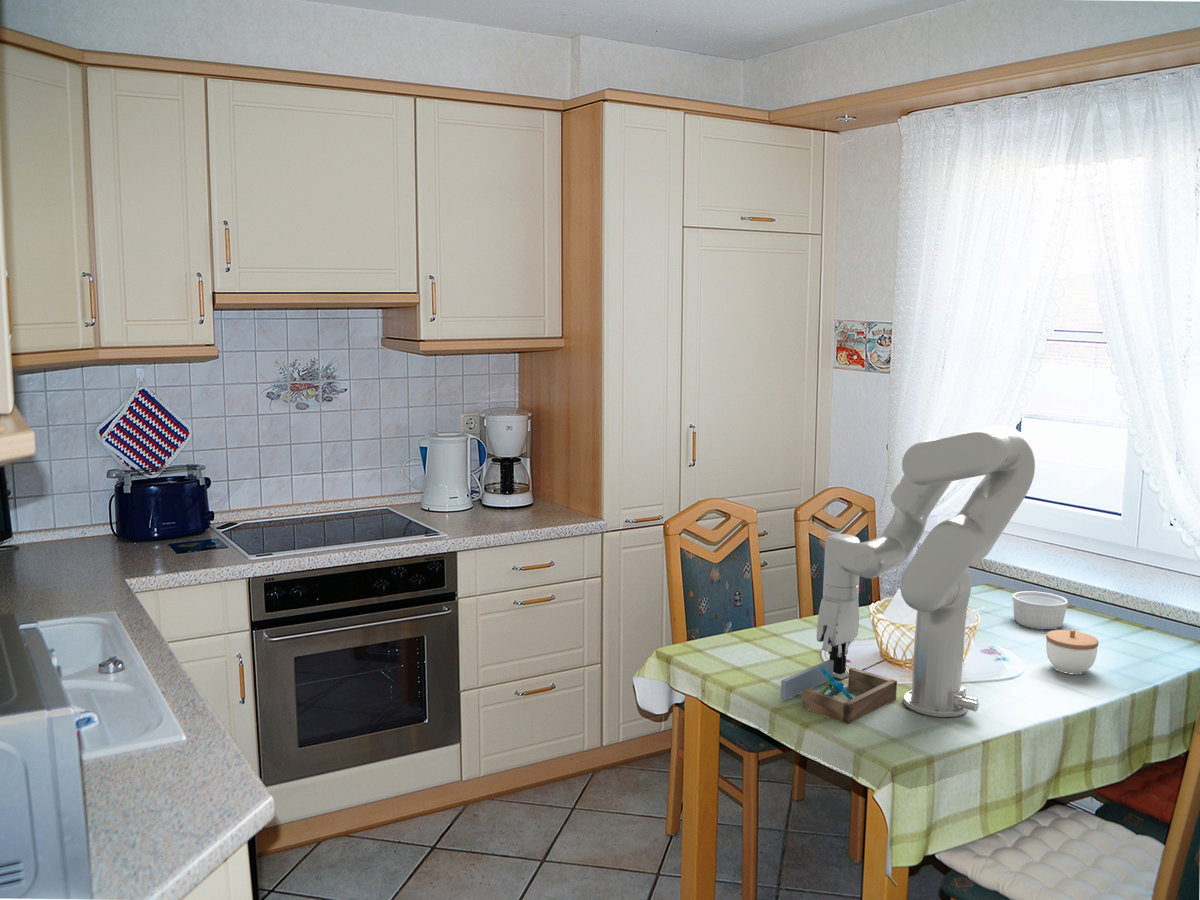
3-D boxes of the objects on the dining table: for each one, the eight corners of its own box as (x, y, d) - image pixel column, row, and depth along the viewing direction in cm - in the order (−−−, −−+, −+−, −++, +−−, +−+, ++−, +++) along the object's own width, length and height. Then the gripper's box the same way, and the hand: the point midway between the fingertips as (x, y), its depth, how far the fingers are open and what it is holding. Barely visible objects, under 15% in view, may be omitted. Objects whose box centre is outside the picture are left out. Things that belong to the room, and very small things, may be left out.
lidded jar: (1049, 658, 236) (1052, 619, 235) (1099, 668, 230) (1103, 628, 229) (1039, 671, 227) (1042, 631, 226) (1091, 682, 221) (1094, 641, 220)
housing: (941, 675, 224) (942, 658, 224) (848, 724, 198) (849, 704, 197) (874, 656, 236) (875, 640, 235) (778, 699, 210) (778, 681, 209)
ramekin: (1001, 616, 268) (1003, 590, 267) (1048, 615, 269) (1050, 590, 268) (1026, 632, 255) (1028, 605, 254) (1076, 631, 256) (1078, 604, 255)
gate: (832, 678, 220) (833, 660, 220) (784, 700, 208) (785, 681, 207) (829, 676, 221) (829, 659, 220) (780, 698, 208) (781, 680, 208)
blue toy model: (866, 706, 202) (831, 671, 202) (845, 727, 202) (810, 692, 202) (851, 693, 213) (818, 659, 213) (831, 712, 213) (798, 679, 213)
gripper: (845, 581, 227) (841, 659, 230) (806, 594, 217) (803, 675, 219) (874, 588, 222) (870, 668, 224) (836, 601, 211) (832, 685, 214)
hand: (837, 671), depth 222 cm, fingers closed
